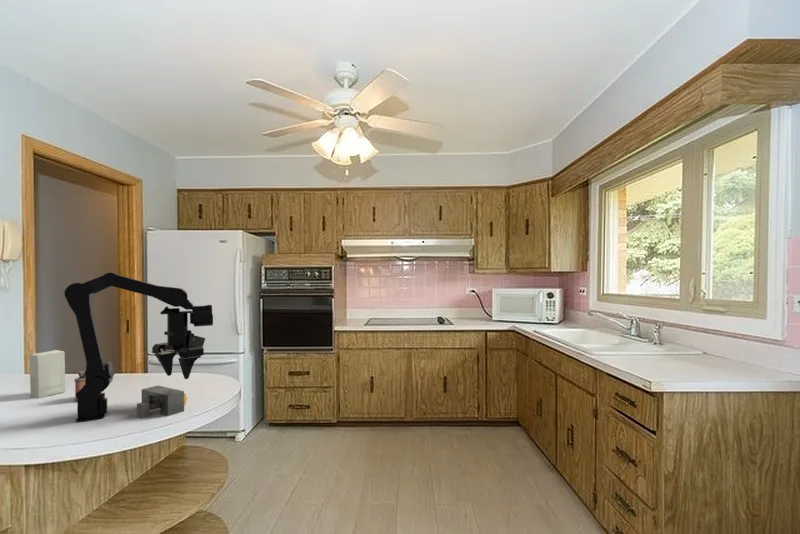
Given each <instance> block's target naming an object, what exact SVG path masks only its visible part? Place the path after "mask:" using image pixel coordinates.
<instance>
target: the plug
mask: <svg viewBox="0 0 800 534" xmlns="http://www.w3.org/2000/svg"><path fill="white" fill-rule="evenodd" d="M187 400H188V396H187V393H185V392H184V406H187ZM156 408H158V409H160V403H157V404H153V405H150V403H146V402H142V401H141V402H138V403H136V416H137V417H139V418H142V417H143V418H146V417H149V415H150V413H151V412H150V410H151V411H153V409H154V410H156Z"/></svg>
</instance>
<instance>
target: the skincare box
mask: <svg viewBox="0 0 800 534" xmlns="http://www.w3.org/2000/svg"><path fill="white" fill-rule="evenodd" d="M65 355H66V354H65V351H63V350H58V349H53V350H49V351H43V352H36V353H31V354H29V382H30V383H29V384H30V385H29V386H30V387H29V388H30V396H31V397H33V398H37V399H42V398H46V397H49V396H53V395H56V394H57V395H58V394H62V393H65V392H66V369H65V368H66V361H65V360H66V359H65Z"/></svg>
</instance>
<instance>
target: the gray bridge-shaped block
mask: <svg viewBox="0 0 800 534" xmlns="http://www.w3.org/2000/svg"><path fill="white" fill-rule="evenodd" d="M184 393H185V391H184V390H180V389H177V388H171V387H166V386H162V385H154V386H149V387H145V388H141V402H146V403H150V405H153V404H157V403H160V408H159V414H160V415H163V416H167V417H170V416H173V415H176V414H179V413H182V412H185V405H184ZM156 409H157V408H156ZM156 409H155V410H156ZM157 410H158V409H157Z"/></svg>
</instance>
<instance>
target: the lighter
mask: <svg viewBox="0 0 800 534" xmlns="http://www.w3.org/2000/svg"><path fill="white" fill-rule="evenodd" d="M85 372H86V368H84V369H82V370H80V371H78V373H77V374H78V377H77V378H74V385H75V388H74V389H75V391H74V392H75V393H74V397H75V398H74V403H77V397H76V393H77V392H78V391H79V390H80V389H81V388H82V387H83V386H84V385H85Z"/></svg>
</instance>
